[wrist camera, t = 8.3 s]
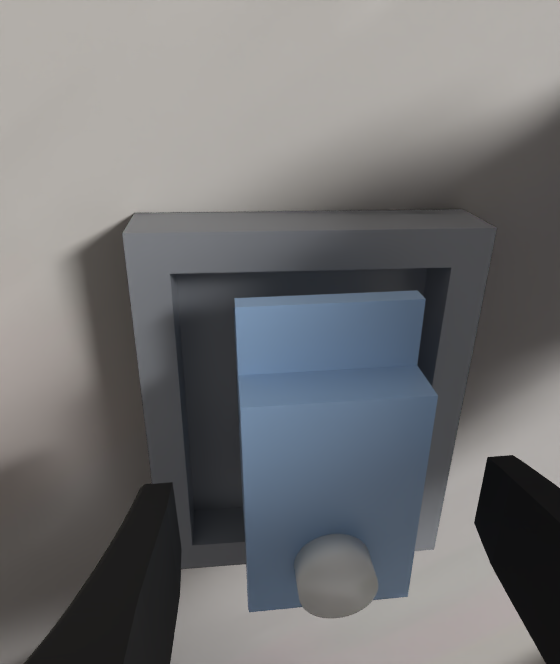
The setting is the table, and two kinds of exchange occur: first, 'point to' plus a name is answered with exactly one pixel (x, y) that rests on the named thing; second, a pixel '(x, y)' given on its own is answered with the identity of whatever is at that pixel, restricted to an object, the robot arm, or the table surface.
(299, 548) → the block
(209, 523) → the pocket tray
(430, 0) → the table surface
